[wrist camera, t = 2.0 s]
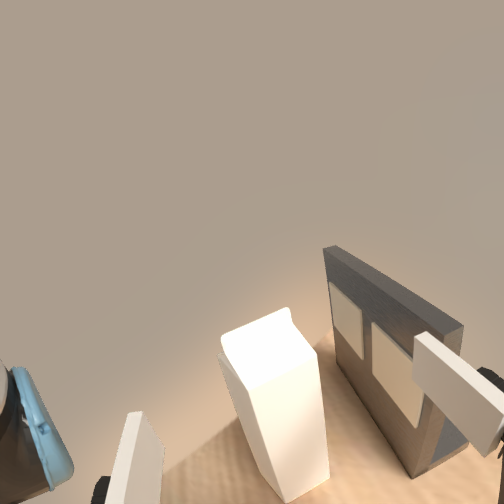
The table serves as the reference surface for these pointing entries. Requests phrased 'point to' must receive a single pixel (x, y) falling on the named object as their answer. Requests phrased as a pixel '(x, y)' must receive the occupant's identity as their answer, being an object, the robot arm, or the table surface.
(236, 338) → the milk
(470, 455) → the table surface
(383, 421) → the label panel
